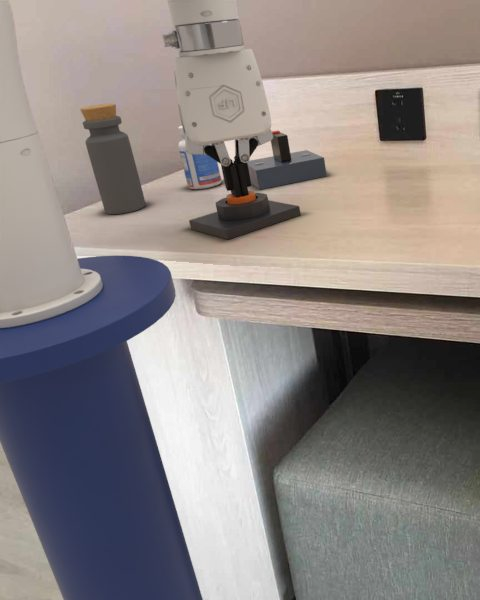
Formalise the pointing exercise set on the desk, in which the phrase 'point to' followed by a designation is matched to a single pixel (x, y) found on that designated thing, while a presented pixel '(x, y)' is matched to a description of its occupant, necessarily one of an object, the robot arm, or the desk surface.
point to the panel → (286, 169)
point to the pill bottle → (198, 167)
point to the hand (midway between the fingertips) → (240, 194)
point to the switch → (241, 198)
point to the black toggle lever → (280, 146)
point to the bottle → (112, 160)
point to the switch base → (243, 217)
